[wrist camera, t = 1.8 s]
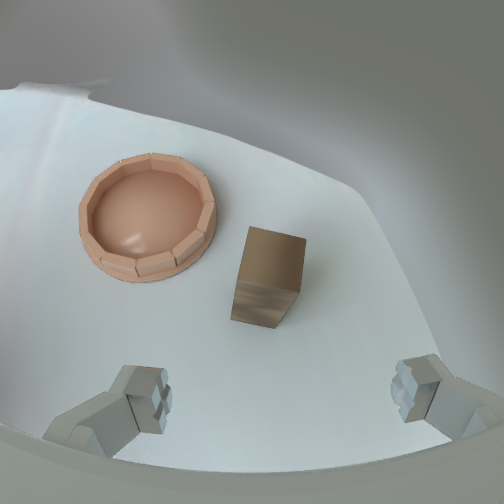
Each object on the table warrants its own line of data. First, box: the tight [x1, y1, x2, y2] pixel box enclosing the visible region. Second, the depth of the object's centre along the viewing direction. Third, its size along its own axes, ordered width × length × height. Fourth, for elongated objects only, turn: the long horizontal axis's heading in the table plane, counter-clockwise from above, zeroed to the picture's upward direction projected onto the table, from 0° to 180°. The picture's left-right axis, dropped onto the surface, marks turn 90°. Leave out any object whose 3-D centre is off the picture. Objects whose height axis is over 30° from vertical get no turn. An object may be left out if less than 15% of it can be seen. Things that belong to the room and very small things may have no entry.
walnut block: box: [231, 226, 306, 329], centre depth 27 cm, size 4×4×10 cm
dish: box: [79, 153, 217, 283], centre depth 34 cm, size 16×16×3 cm
